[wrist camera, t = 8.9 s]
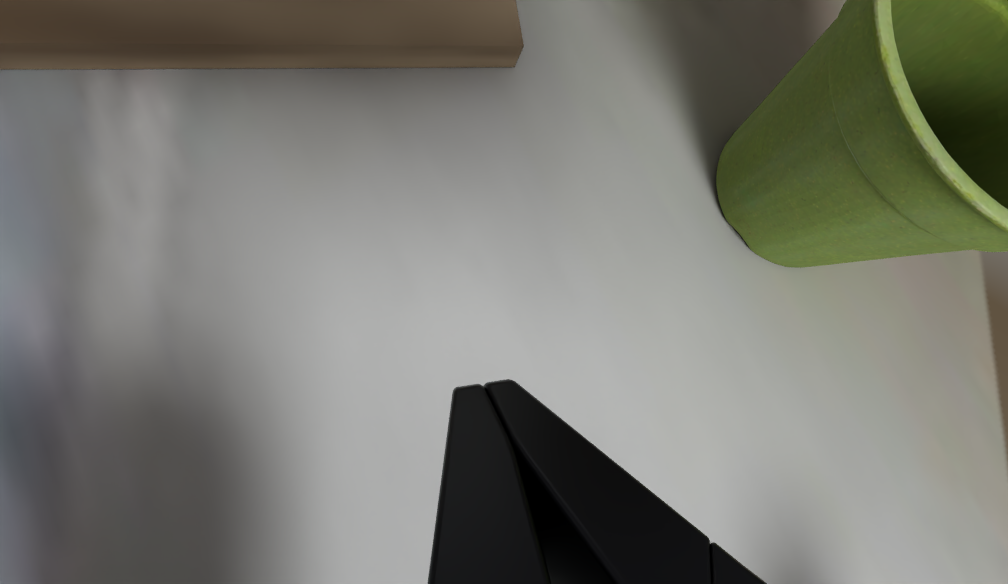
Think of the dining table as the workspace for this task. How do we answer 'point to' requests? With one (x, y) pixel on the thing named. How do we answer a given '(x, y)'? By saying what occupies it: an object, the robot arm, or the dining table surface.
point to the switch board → (258, 34)
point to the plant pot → (879, 139)
